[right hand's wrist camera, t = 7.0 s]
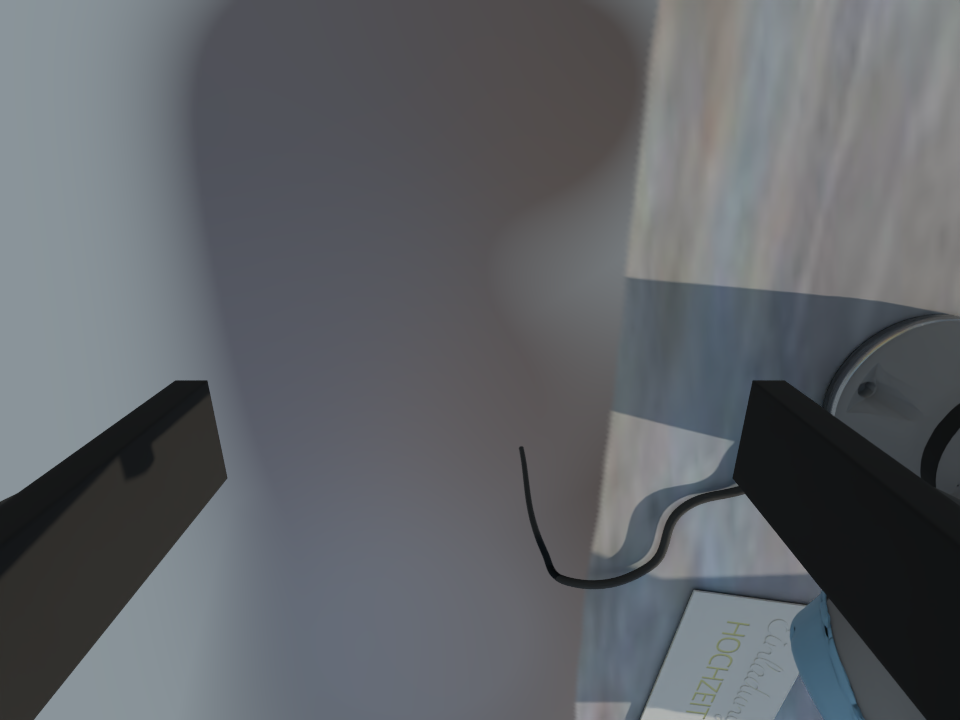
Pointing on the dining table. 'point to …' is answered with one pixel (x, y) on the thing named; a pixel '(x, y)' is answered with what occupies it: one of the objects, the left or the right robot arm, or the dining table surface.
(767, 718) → the invitation card
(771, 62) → the dining table surface
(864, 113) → the dining table surface
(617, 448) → the dining table surface
